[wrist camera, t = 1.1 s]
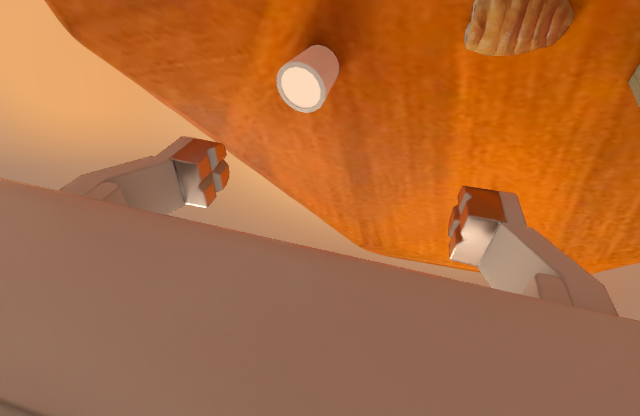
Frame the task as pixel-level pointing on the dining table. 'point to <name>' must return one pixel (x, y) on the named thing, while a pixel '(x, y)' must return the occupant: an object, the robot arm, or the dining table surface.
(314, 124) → the dining table surface
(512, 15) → the pastry
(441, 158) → the dining table surface
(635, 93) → the spice rack
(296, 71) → the white short cylinder
